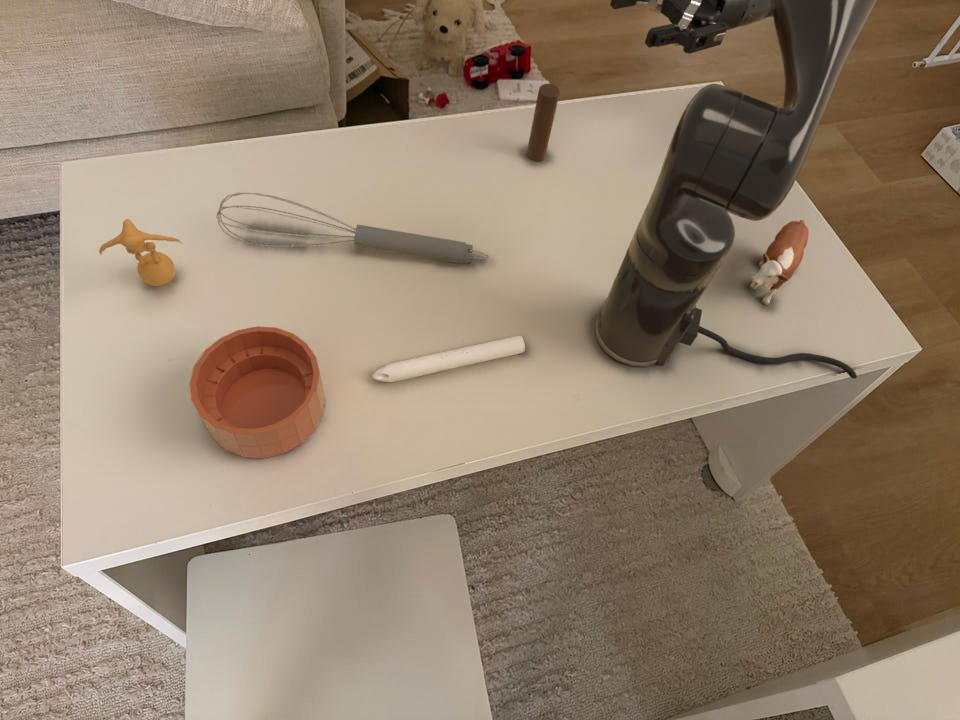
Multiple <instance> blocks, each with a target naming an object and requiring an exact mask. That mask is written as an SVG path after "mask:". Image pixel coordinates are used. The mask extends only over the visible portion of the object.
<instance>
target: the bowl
mask: <svg viewBox="0 0 960 720" xmlns="http://www.w3.org/2000/svg"><path fill="white" fill-rule="evenodd" d="M322 382H323V381H322V377H321V373H320V369H319V363H318V360H317V357H316V354H315V353H314V352H313V350H312V349H311V347H310V346H309V344H308V343H307V342H305V341H304V340H303V339H301V338H300V337H299V336H298V335H296V334H294V333H293V332H290V331H287V330H284V329H282V328H279V327H275V326H274V327H273V326H260V325H259V326H252V327H247V328H241V329H238V330H235V331H233V332H230V333H228V334H226V335H224V336H222V337H220V338H218V339H217V340H215V342H213V343H212V344H211V345H210V346H208V347H207V348H206V349H205V350H204V351H203V353H202V354H201V356H200V357H199V358H198V360H197V361H196V363H195V365H194V366H193V369H192V373H191V378H190V381H189V389H190V390H189V392H190V398H191V402H192V404H193V406H194V407H195V409H196V411H197V413H198V415H199V417H200V418H201V420H202V421H203V423H204V425H205V427H206V429H207V430H208V432H209V433H210V435H211V437H212V439H213V440H214V442H216V443H218V444H219V446H221V447H222V448H223V449H225V450H226V451H227V452H230V453H233V454H235V455H239V456H241V457H245V458H258V459H265V458H270V457H274V456H278V455H283V454H286V453H287V452H289V451H291V450H293V449H295V448H296V447H298V446H300V445H301V444H303V443H304V442H305V441H306V440H307V439H308V438H309V437H311V435H312V434H313V433H314V432H315V431H316V429H317V427H318V425H319V423H320V422H321V419H322V418H323V415H324V410H325V404H326V396H325V392H324V387H323V383H322Z"/></svg>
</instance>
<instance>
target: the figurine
mask: <svg viewBox="0 0 960 720" xmlns="http://www.w3.org/2000/svg"><path fill="white" fill-rule="evenodd" d="M146 241H147V242H146ZM153 241H166V242H177V243H179V244H182V245H183V243H182V241H181V240H180V239H178V238H176V237H174V236H166V235H161V234H154V233H153V234H152V233H147V232H144V231H142V230H140V229H138V228H137V227H136V225H135V224H134V223H133V221H132V220H131V219H128V218H126V219H124V220H123V222H122V229H121V232H120V233H119V234H118V235H117V236H115V237H113V238H112V239H109V240H108V241H106V242H104V243H103V244H101V246H100V247H99V249H98V252H99V255H100V256H102V255H103V254H104V252H105V251H106V249H108V248H112V247H113V246H116V245H121V246H123V247H125V250H126V252H127V253H128V254H130V255H134V258H135V260H136V261H138V262H137V267H136V269H137V270H136V271H137V274H138V276H139V277H140V279H141V280H142V281H143V282H144V283H145V284H147V285H149V286H153V287H161V286H165V285H167V284H169V283H170V282H171V281H172V280H173V278H174V277H175V275H176V266H175V263H174V261H173V260H172V259H171V257H170V256H169V255H167V254H165V253H164V252H160V251H157V250H156V248H157V247H156V243H155V242H153ZM144 252H147V253H145V254H143V255H142V253H144Z"/></svg>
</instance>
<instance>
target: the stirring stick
mask: <svg viewBox="0 0 960 720" xmlns="http://www.w3.org/2000/svg"><path fill="white" fill-rule="evenodd" d="M560 94H561V91H560V88H559V87H558V86H557V85H555V84H552V83H543V84H542V85H540V86H539V88H538V92H537V97H536V104H535V108H534V111H533V112H534V113H533V117H532V118H533V119H532V122H531V129H530V132H529V133H530V134H529V139H528V144H527V148H526V158H528V159H529V160H530V161H531V162H536V163H537V162H538V163H539V162H543V161H544V160H545V158H546V156H547V151H548V148H549V147H548V146H549V143H550V139H551V134H552V129H553V125H554V121H555V120H554V119H555V115H556V111H557V108H558V103H559V98H560Z"/></svg>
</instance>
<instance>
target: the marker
mask: <svg viewBox="0 0 960 720" xmlns="http://www.w3.org/2000/svg"><path fill="white" fill-rule="evenodd" d="M525 350H526V345H525V341H524V338H523V336H522V335H515V336H509V337H505V338H501V339H496V340H492V341H487V342H482V343H478V344H474V345H473V344H472V345H469V346H464V347H460V348H455V349H451V350H446V351H441V352H437V353H432V354H427V355H423V356H418V357H414V358H410V359H405V360H401V361H397V362H391V363H388V364H386V365H383V366H382V367H380V368H379V369H377V370H376V371H375V372H374V373H373V374H372V376H371V378H372V380H376V381H379V382H384V383H394V382H399V381H404V380H408V379H413V378H417V377H422V376H425V375H430V374H434V373H439V372H443V371H448V370H452V369H456V368H457V369H458V368H461V367H466V366H469V365H474V364H479V363H483V362H487V361H493V360H497V359H500V358H501V359H502V358H504V357H510V356H514V355H520V354H521V353H524V352H525Z"/></svg>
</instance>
